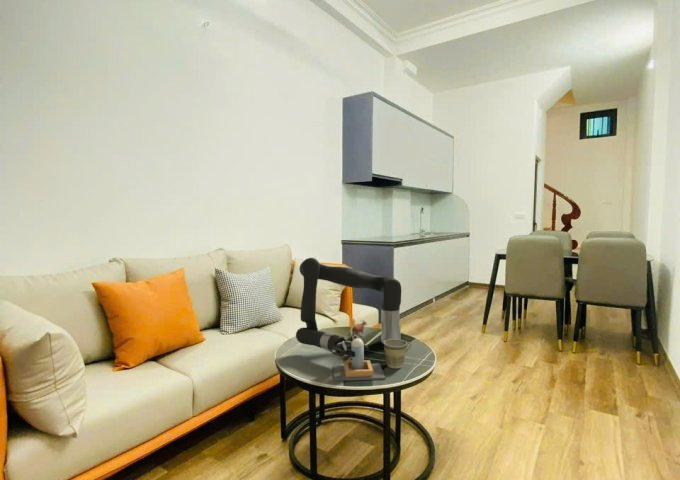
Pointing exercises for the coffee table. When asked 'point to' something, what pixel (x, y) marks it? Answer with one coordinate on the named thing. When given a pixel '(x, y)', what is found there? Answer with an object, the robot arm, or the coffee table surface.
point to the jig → (358, 372)
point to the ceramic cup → (395, 352)
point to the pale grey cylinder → (358, 354)
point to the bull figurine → (358, 329)
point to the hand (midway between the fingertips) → (361, 351)
